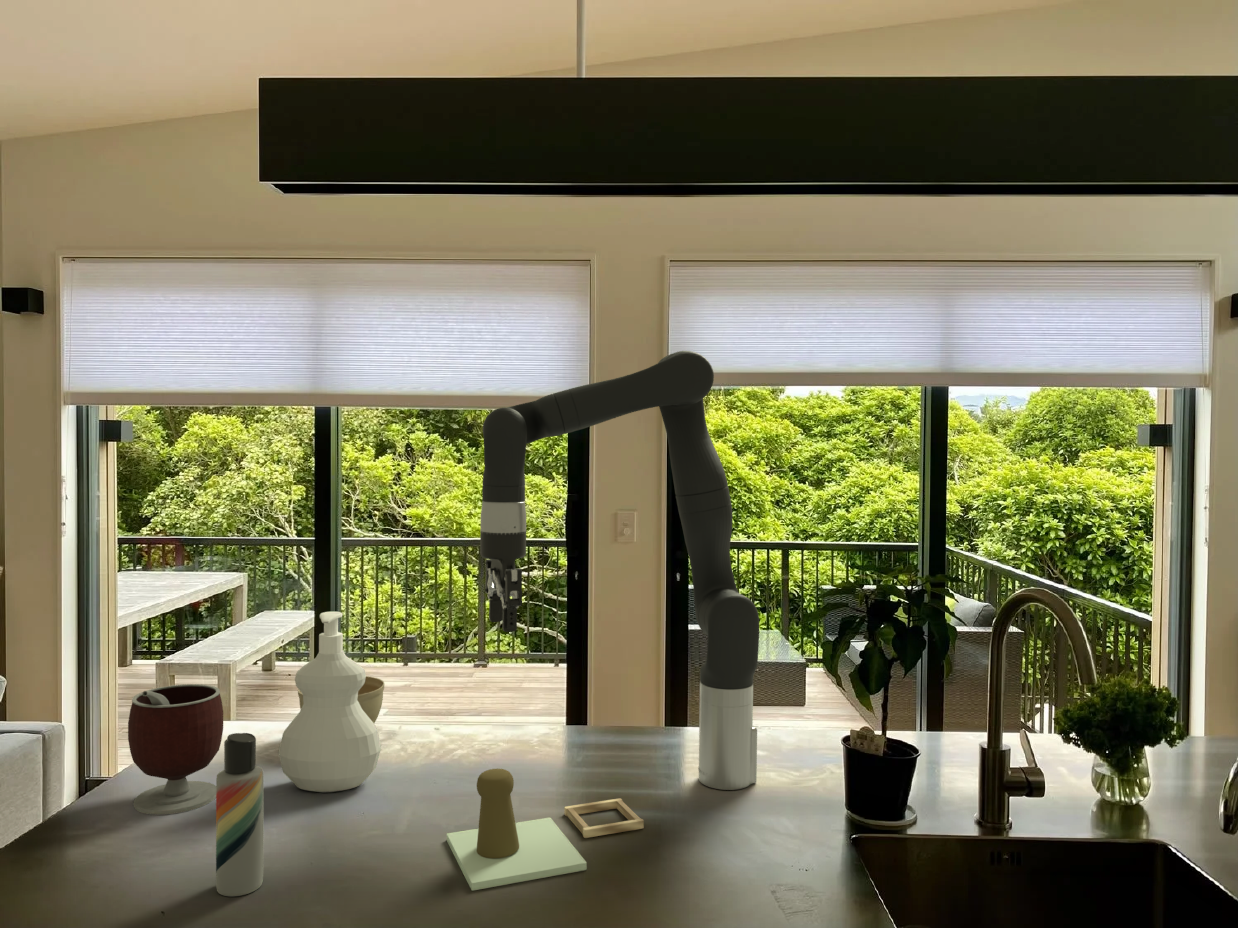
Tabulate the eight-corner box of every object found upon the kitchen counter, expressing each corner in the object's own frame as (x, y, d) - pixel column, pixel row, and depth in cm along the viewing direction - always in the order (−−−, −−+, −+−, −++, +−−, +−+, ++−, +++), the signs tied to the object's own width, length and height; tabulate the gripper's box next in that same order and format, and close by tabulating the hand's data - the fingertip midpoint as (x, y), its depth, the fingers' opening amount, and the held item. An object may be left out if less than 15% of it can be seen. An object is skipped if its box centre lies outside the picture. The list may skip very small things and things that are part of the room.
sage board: (550, 823, 139) (550, 817, 139) (586, 869, 124) (586, 862, 124) (446, 840, 132) (446, 833, 132) (471, 890, 118) (471, 882, 118)
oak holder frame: (620, 805, 146) (620, 798, 146) (643, 828, 137) (643, 820, 137) (564, 814, 142) (564, 806, 142) (584, 837, 134) (584, 829, 134)
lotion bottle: (225, 876, 121) (225, 728, 120) (268, 875, 121) (269, 727, 121) (209, 898, 115) (209, 742, 114) (255, 896, 115) (255, 741, 115)
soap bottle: (268, 799, 147) (268, 619, 146) (290, 773, 158) (290, 606, 158) (373, 798, 148) (374, 619, 147) (387, 772, 159) (388, 606, 158)
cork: (514, 858, 124) (511, 780, 124) (471, 858, 125) (468, 780, 124) (523, 838, 130) (519, 763, 130) (482, 837, 131) (478, 763, 130)
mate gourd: (161, 781, 154) (161, 664, 153) (239, 784, 153) (239, 667, 152) (101, 818, 138) (101, 689, 138) (187, 823, 137) (188, 692, 137)
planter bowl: (357, 722, 187) (357, 670, 187) (400, 741, 176) (400, 685, 176) (282, 740, 176) (282, 684, 175) (323, 761, 164) (323, 702, 164)
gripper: (538, 532, 144) (537, 633, 144) (513, 524, 157) (512, 617, 157) (492, 533, 141) (491, 636, 141) (471, 525, 154) (470, 619, 154)
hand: (502, 626), depth 149 cm, fingers open, 8 cm apart
